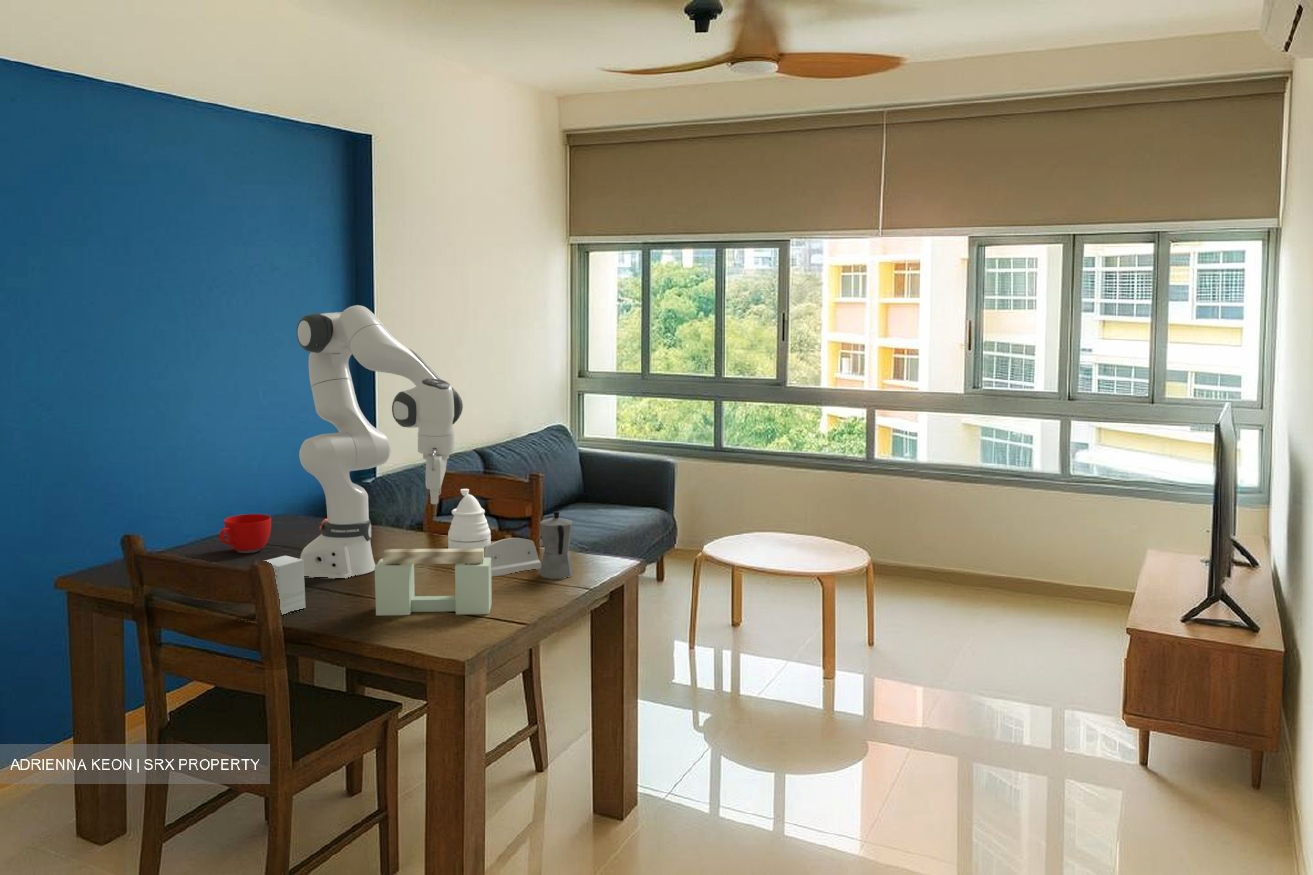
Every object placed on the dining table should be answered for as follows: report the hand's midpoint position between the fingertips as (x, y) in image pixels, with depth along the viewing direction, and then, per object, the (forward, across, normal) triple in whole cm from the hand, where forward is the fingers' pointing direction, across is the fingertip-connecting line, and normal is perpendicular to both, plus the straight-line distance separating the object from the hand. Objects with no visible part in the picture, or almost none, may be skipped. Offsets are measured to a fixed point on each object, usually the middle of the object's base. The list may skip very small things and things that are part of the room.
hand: (435, 499), depth 254 cm
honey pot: (+28, +51, -7) cm, 59 cm away
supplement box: (+27, -6, +36) cm, 45 cm away
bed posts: (+26, -9, 0) cm, 27 cm away
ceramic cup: (+29, +52, +59) cm, 84 cm away
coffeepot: (+26, +18, -32) cm, 45 cm away
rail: (+17, -9, 0) cm, 19 cm away
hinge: (+27, +26, -19) cm, 42 cm away
